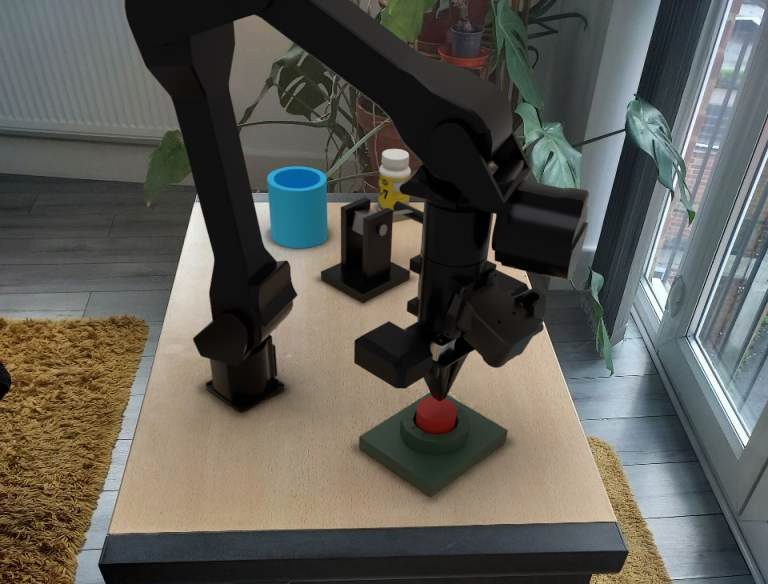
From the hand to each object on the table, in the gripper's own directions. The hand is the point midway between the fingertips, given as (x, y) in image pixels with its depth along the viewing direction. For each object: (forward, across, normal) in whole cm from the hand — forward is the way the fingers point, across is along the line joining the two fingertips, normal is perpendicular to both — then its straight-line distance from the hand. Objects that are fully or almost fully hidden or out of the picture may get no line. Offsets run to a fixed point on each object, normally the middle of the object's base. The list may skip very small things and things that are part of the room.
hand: (438, 398), depth 78 cm
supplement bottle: (+6, +37, +41) cm, 56 cm away
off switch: (+6, 0, 0) cm, 6 cm away
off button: (+3, 0, 0) cm, 3 cm away
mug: (+6, +22, +46) cm, 51 cm away
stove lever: (0, +23, +29) cm, 37 cm away
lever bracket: (+6, +19, +29) cm, 35 cm away
